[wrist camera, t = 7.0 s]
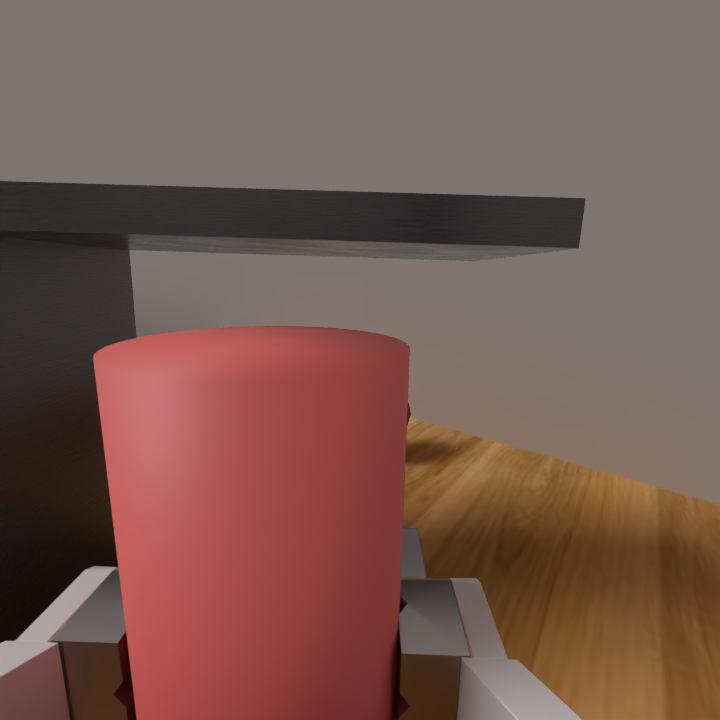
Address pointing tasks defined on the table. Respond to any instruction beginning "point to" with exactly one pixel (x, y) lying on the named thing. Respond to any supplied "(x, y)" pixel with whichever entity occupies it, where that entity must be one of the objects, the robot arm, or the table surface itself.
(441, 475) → the table surface
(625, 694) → the table surface
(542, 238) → the canopy
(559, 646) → the table surface
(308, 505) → the peg
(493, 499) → the table surface
